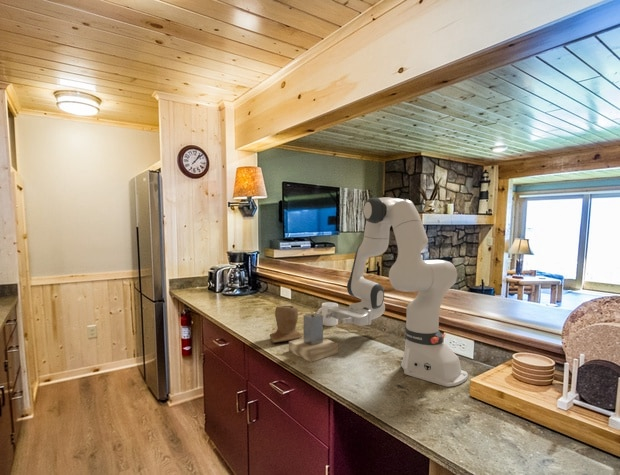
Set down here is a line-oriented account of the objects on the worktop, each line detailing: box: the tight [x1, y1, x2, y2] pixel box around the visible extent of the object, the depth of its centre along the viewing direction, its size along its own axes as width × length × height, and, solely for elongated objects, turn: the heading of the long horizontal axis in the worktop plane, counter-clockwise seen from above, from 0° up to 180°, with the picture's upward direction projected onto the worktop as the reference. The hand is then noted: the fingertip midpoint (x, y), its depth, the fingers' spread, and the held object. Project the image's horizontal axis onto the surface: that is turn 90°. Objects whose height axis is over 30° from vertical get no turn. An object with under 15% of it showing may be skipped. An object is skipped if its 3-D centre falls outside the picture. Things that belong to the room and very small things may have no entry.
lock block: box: [303, 311, 324, 346], centre depth 140 cm, size 5×6×12 cm
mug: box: [316, 301, 339, 327], centre depth 177 cm, size 12×8×10 cm
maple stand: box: [288, 337, 339, 363], centre depth 141 cm, size 14×14×4 cm
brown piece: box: [269, 305, 303, 344], centre depth 156 cm, size 15×12×15 cm
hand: (334, 318), depth 148 cm, fingers open, 8 cm apart
